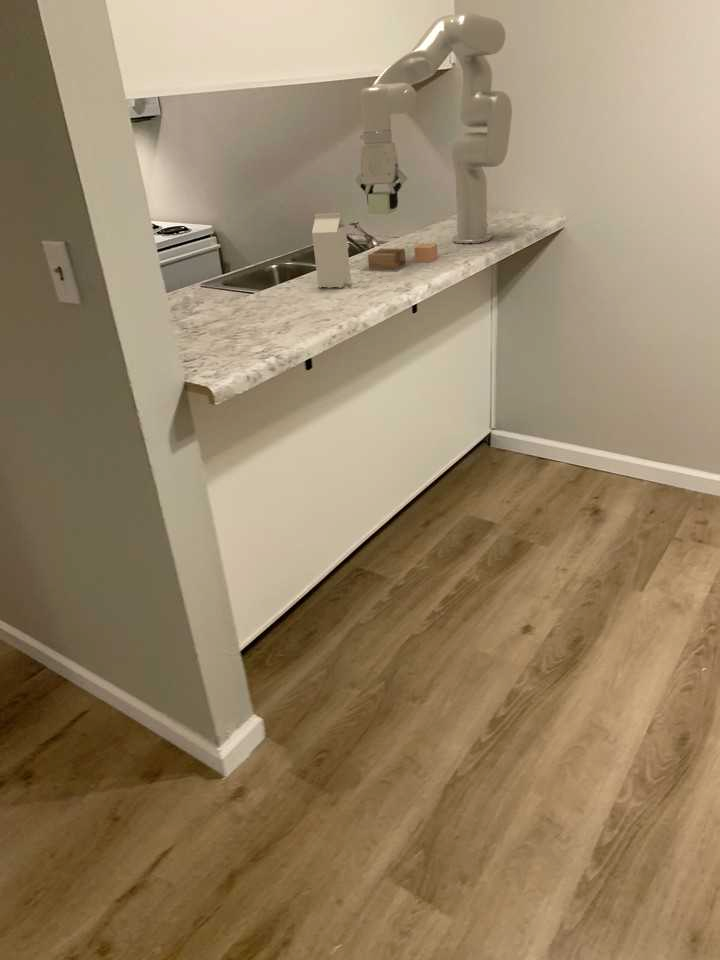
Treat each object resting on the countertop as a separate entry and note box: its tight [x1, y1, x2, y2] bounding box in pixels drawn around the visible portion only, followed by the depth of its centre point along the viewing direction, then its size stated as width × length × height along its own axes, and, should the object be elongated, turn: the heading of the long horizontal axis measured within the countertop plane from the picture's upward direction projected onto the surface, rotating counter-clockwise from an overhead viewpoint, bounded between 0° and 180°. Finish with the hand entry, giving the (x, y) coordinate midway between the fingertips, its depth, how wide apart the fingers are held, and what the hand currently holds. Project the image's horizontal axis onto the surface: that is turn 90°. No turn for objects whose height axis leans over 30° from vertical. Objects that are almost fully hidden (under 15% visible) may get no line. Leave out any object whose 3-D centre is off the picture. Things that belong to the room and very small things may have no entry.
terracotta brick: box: [414, 243, 439, 263], centre depth 215 cm, size 5×5×5 cm
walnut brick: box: [367, 248, 406, 270], centre depth 213 cm, size 8×8×4 cm
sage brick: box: [367, 190, 398, 215], centre depth 206 cm, size 6×6×5 cm
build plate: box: [359, 260, 415, 273], centre depth 214 cm, size 12×12×1 cm
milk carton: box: [311, 212, 352, 289], centre depth 199 cm, size 7×7×19 cm
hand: (382, 207), depth 206 cm, fingers closed on sage brick, 6 cm apart
